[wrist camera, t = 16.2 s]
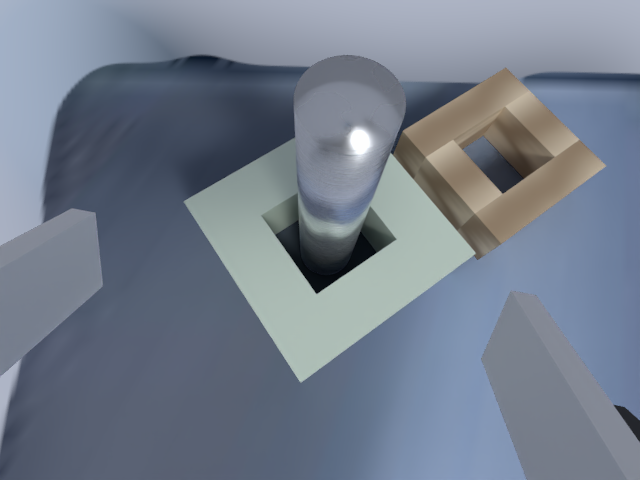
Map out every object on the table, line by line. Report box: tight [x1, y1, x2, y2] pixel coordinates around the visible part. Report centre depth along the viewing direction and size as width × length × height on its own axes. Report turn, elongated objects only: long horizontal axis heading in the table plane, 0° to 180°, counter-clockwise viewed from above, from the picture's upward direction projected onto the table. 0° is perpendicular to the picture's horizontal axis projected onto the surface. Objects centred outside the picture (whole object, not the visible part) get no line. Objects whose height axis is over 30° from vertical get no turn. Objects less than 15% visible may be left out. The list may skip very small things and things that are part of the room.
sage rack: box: [184, 138, 476, 383], centre depth 29 cm, size 14×14×5 cm
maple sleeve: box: [393, 68, 606, 260], centre depth 32 cm, size 11×11×4 cm
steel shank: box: [294, 55, 406, 275], centre depth 23 cm, size 4×4×18 cm
